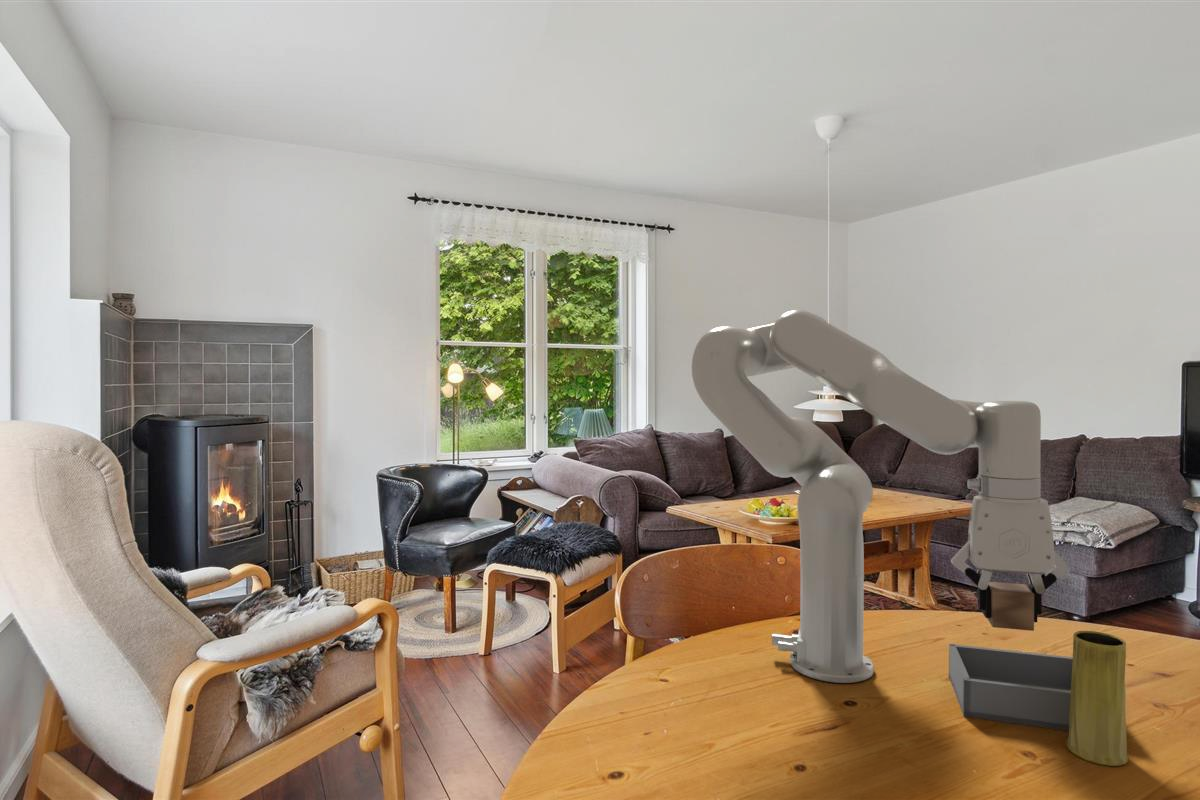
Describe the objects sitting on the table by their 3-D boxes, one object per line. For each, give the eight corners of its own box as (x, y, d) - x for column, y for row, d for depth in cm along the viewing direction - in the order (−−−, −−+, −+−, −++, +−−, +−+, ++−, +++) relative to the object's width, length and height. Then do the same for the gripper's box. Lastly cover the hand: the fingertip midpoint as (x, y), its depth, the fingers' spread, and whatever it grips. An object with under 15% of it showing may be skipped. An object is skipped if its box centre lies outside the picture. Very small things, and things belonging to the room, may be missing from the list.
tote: (963, 716, 95) (964, 680, 95) (948, 675, 108) (949, 643, 108) (1117, 737, 89) (1118, 698, 89) (1082, 692, 102) (1082, 658, 102)
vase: (1138, 769, 82) (1141, 649, 81) (1080, 764, 83) (1082, 645, 83) (1112, 743, 88) (1114, 630, 87) (1057, 738, 89) (1060, 627, 89)
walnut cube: (992, 627, 97) (992, 591, 97) (985, 615, 102) (985, 581, 102) (1033, 630, 96) (1034, 594, 95) (1024, 618, 100) (1024, 584, 100)
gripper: (946, 490, 97) (946, 620, 98) (1089, 495, 92) (1088, 632, 92) (938, 483, 105) (938, 603, 105) (1071, 487, 99) (1070, 614, 100)
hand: (1008, 615), depth 99 cm, fingers closed on walnut cube, 4 cm apart
